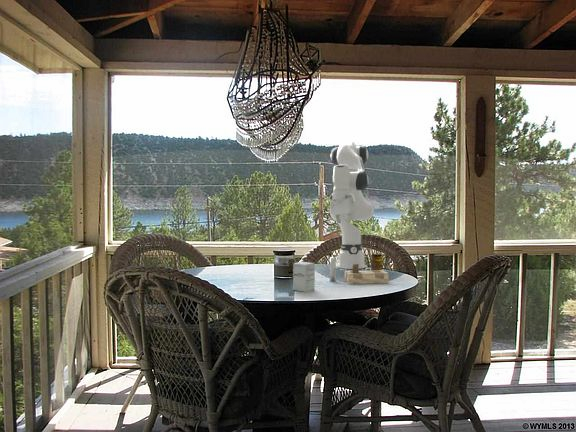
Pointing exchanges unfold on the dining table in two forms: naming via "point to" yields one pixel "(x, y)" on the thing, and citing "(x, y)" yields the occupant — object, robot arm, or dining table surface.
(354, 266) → the walnut peg
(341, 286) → the dining table surface
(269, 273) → the dining table surface
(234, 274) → the dining table surface
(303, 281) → the supplement box
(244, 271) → the dining table surface
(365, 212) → the robot arm
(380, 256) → the condiment
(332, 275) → the steel peg
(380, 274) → the hole block
